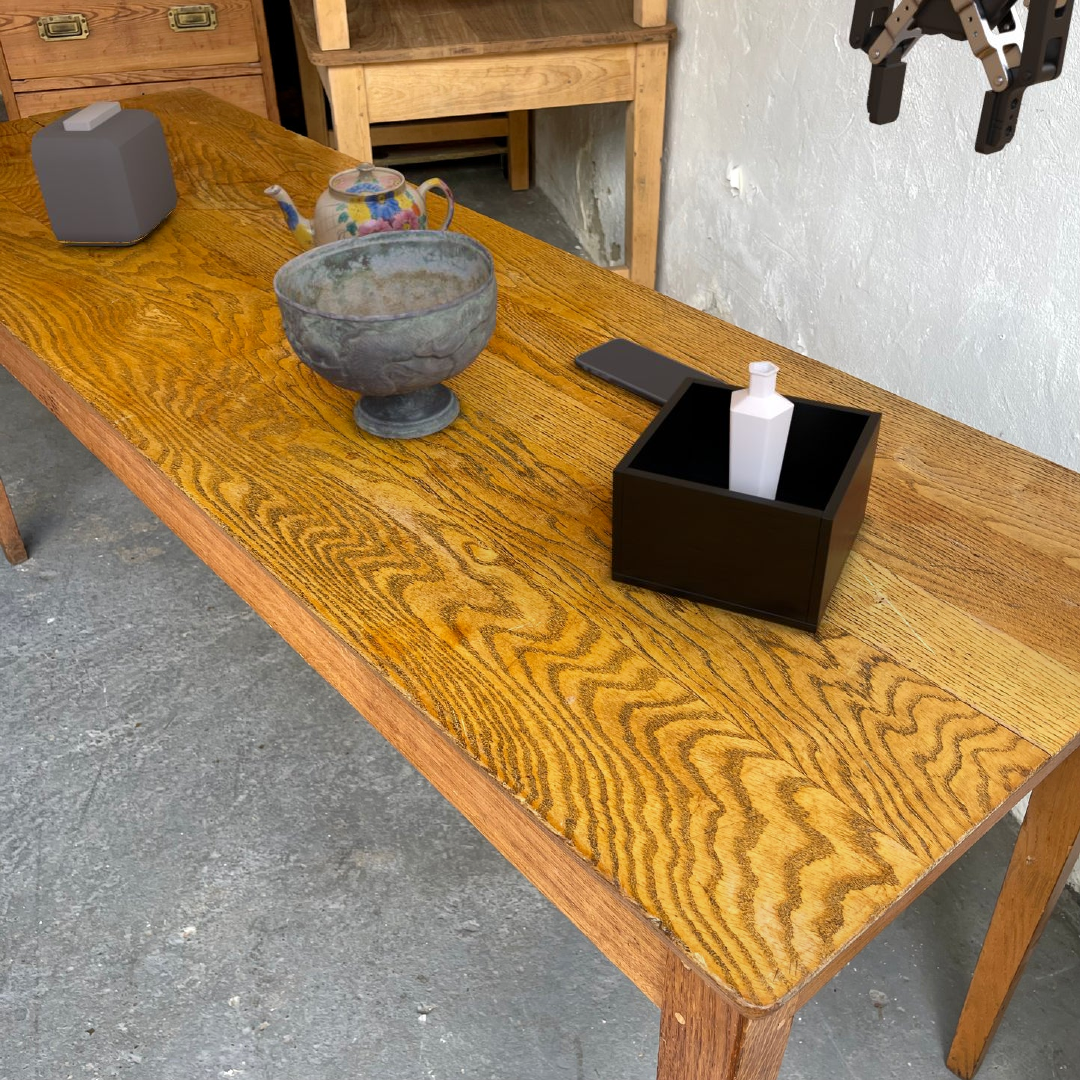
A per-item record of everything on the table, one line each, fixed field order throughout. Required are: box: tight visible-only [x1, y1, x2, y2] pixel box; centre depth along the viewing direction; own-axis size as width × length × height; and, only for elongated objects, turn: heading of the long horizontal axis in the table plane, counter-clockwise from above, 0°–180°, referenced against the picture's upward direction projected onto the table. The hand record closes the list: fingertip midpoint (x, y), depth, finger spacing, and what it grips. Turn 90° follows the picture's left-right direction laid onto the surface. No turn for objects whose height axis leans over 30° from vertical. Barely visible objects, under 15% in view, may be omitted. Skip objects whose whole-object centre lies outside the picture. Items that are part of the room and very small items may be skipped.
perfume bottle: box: [729, 360, 794, 500], centre depth 81 cm, size 5×4×15 cm
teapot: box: [263, 161, 455, 252], centre depth 131 cm, size 20×14×13 cm
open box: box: [610, 377, 883, 635], centre depth 83 cm, size 16×16×10 cm
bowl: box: [272, 229, 498, 440], centre depth 101 cm, size 20×19×15 cm
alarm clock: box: [30, 101, 178, 247], centre depth 145 cm, size 16×11×16 cm
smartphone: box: [573, 337, 727, 407], centre depth 110 cm, size 7×1×15 cm
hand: (934, 136), depth 72 cm, fingers open, 8 cm apart
